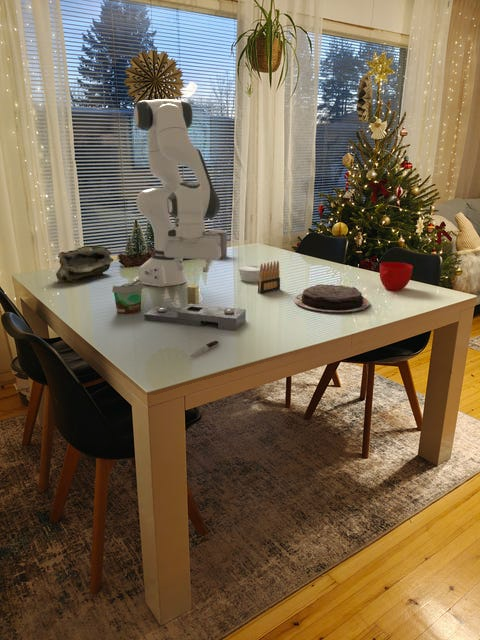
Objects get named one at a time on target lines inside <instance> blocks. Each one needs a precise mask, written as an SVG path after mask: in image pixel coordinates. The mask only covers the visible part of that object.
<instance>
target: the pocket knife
mask: <svg viewBox="0 0 480 640" xmlns="http://www.w3.org/2000/svg"><path fill="white" fill-rule="evenodd" d="M219 345H220V341H219V340H213V341H210V342H208V343H206V344H204V345H202V346H201V347H199V349H198V350H196V351H195V352H193V353H191V354H190V355H189V357H190V358H195V357H198V356H200V355H201V354H202V353H207V351H208V350H209V351H210V350H211V349H212V348H215V347H218V346H219Z"/></svg>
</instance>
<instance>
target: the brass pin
mask: <svg viewBox="0 0 480 640" xmlns="http://www.w3.org/2000/svg"><path fill="white" fill-rule="evenodd" d="M199 286H200V285H199V284H198V285H196V284H189V285H188V286H187V289H186V290H187V305H188V304H198V305H200V298H199V295H200V293H199Z"/></svg>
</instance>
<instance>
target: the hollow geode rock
mask: <svg viewBox="0 0 480 640" xmlns="http://www.w3.org/2000/svg"><path fill="white" fill-rule="evenodd" d="M111 254H112V252H111V251H110V250H108V248H106V247H104V246H92V245H85V246H82V247H78V248H77V249H74V250H68V251H67V252H65V251H61V252H59V254H58V256H57V258H59V261H58V263H59V264H60V265H59V266H60V267H59V269H58V270H57V272H56V273H55V276H56V279H57V281H58V282H62V283H67V282H71V283H75V282H77V281H78V279H81V278H87V277H92V276H95V275H96V276H97V275H101V274H103V273H105V272H107V271H109V269H110V267H111V264H112V262H114V258H112V257H111Z"/></svg>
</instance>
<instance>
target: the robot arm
mask: <svg viewBox="0 0 480 640" xmlns="http://www.w3.org/2000/svg"><path fill="white" fill-rule="evenodd" d="M193 118H194V113H193V109H192V106H191V103H189V101H186V100H182V99H179V100H177V99H169V98H162V99H152V100H146V99H143V100H139V101H137V102H136V104H135V105H134V109H133V119H134V123H135V125H136V127H137V128H138V129H139V130H142V131H145V132H148V135H147V136H148V138H147V152H148V161H149V163H148V164H149V170H150V173H151V175H152V176H153V177H155V178H156V179H158V180H159V181H160V183H161V184H162V187H157V188H155V187H154V188H152V187H151V188H148V189H145V190H142V191H140V192H139V193H138V195H137V197H136V207H137V210H138V212H139V213H140V214H141V215H142V216H144V217H145V218H146V219H147V220H148V221H149V223H150V225H151V228H152V231H153V236H154V237H153V239H154V240H153V241H154V248H153V249H151V250H150V251H149V255H151V257H150V258H149V259H148V260H147V261H145V262H144V263H143V264H142V265H140V266H139V269H138V273H137V276H136V277H134V278H133V279H132V280H133V281H132V283H134V282H136V279H138V280H141V282H142V284H143V285H147V286H151V287H152V286H153V287H158V288H160V287H161V288H164V287H169V286H171V287H172V286H177V285H182V284H184V283H186V282H187V278H186V276H185V272H184V264H183V262H184V259H188V260H189V259H191V260H205V266H203V267H202V273H209V270H210V269H209V267H210V266H211V263H212V261H218V260H220V259H221V258H220V257H221V247H220V243H221V237H220V235H219V234H217V233H216V232H209V231H206V230H205V223H206V222H205V220H213V219H214V218H215V217H216V216H217V215H219V212H220V209H221V202H220V198H219V195H218V193H217V191H216V190H215V188H214V184H213V182H212V180H211V179H212V178H211V176H210V173H209V170H208V168H207V164H206V161H205V159H204V156H203V155H202V151H201V150H200V149H199V148H197V147H196V146H195V145H194V144H193V142H192V141H191V139H190V137H189V133H188V129H189V128H190V127H191V126H192V123H193V120H194V119H193ZM178 164H179V165H182V166H185V167H186V168H188V169H190V171H192V172H193V174H194V176H195V178H196V179H195V180H196V181H189V180H188V181H186V180H185V181H183V179H182V176H181V174H180V171H179V170H180V169H179V165H178ZM170 216H171V217H172V218H173V219H175V220H178V221H177V222H178V226H177V225H176V224H173V223H172V222H171V219H170ZM216 235H218V236H216Z"/></svg>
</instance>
